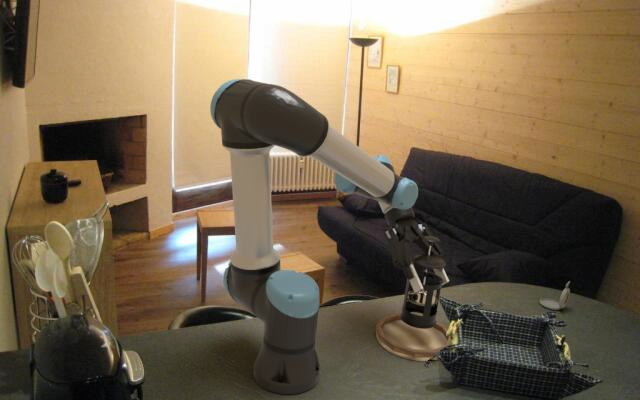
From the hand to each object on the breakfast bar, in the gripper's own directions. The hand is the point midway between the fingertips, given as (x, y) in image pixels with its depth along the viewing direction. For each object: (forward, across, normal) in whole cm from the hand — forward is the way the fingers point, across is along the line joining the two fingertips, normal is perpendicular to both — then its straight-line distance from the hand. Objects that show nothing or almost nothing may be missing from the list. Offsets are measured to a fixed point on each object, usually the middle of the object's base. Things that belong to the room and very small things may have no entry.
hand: (432, 286), depth 133 cm
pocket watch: (+15, -56, -10) cm, 58 cm away
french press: (+5, 0, -10) cm, 11 cm away
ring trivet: (+10, 0, -14) cm, 17 cm away
